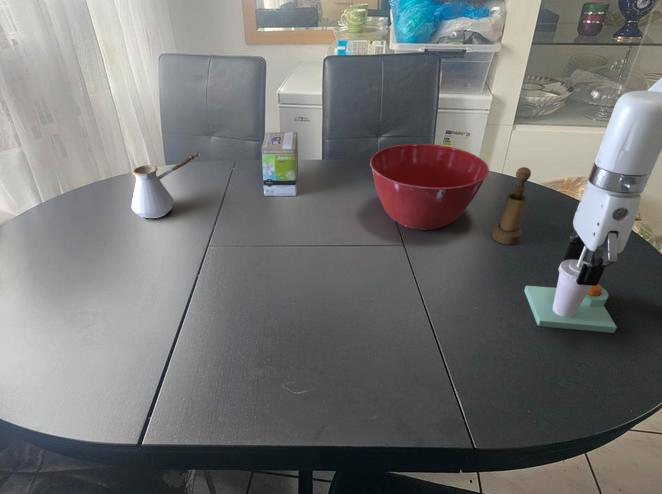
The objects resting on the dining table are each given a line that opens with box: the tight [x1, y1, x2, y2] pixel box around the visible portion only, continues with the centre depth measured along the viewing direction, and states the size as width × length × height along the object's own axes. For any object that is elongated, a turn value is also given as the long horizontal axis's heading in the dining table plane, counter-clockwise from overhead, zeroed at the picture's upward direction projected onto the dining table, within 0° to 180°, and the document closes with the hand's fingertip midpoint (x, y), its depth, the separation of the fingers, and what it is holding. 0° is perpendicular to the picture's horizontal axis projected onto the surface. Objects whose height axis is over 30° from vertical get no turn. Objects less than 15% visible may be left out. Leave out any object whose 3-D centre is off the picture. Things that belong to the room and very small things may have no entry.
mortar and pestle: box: [491, 166, 532, 246], centre depth 104 cm, size 7×6×18 cm
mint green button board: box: [523, 285, 618, 334], centre depth 86 cm, size 14×11×3 cm
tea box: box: [261, 131, 299, 197], centre depth 134 cm, size 15×10×15 cm, turn 178°
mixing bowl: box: [369, 143, 490, 231], centre depth 114 cm, size 28×28×15 cm
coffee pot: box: [131, 152, 203, 218], centre depth 123 cm, size 21×12×15 cm, turn 114°
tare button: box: [587, 283, 603, 296], centre depth 86 cm, size 3×3×2 cm
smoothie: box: [553, 246, 592, 317], centre depth 80 cm, size 6×6×14 cm
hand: (579, 271), depth 79 cm, fingers closed on smoothie, 6 cm apart
